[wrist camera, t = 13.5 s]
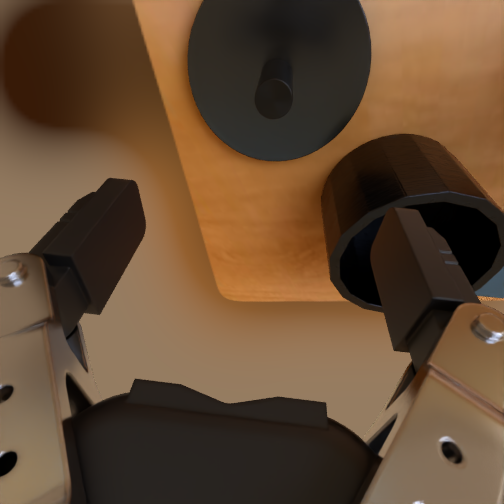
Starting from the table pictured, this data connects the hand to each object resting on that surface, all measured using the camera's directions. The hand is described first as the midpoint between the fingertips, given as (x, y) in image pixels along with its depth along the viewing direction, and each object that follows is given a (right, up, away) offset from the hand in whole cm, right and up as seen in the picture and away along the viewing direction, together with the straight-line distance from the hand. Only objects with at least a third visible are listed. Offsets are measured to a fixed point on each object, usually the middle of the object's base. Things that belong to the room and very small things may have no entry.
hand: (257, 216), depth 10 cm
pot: (+13, +4, +20) cm, 25 cm away
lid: (+2, +12, +14) cm, 18 cm away
